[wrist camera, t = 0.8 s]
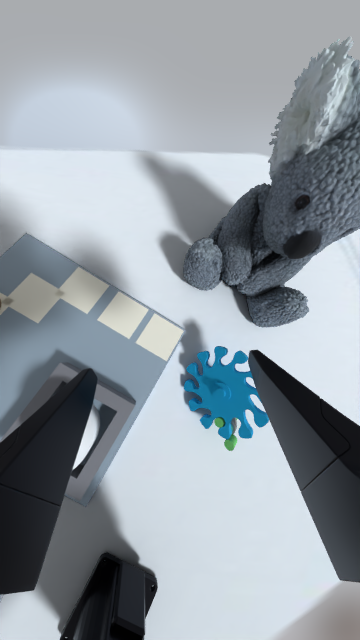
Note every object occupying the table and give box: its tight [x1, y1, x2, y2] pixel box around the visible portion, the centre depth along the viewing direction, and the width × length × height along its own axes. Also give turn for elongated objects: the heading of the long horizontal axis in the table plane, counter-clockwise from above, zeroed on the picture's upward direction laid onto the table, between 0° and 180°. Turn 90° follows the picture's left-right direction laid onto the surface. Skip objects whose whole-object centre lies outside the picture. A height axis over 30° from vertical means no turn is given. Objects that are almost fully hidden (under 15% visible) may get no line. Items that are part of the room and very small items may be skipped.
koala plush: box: [184, 37, 360, 327], centre depth 19 cm, size 17×18×20 cm
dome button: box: [72, 404, 100, 470], centre depth 15 cm, size 6×6×4 cm
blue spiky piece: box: [184, 346, 269, 451], centre depth 21 cm, size 11×6×10 cm
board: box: [0, 233, 186, 507], centre depth 19 cm, size 21×24×3 cm
